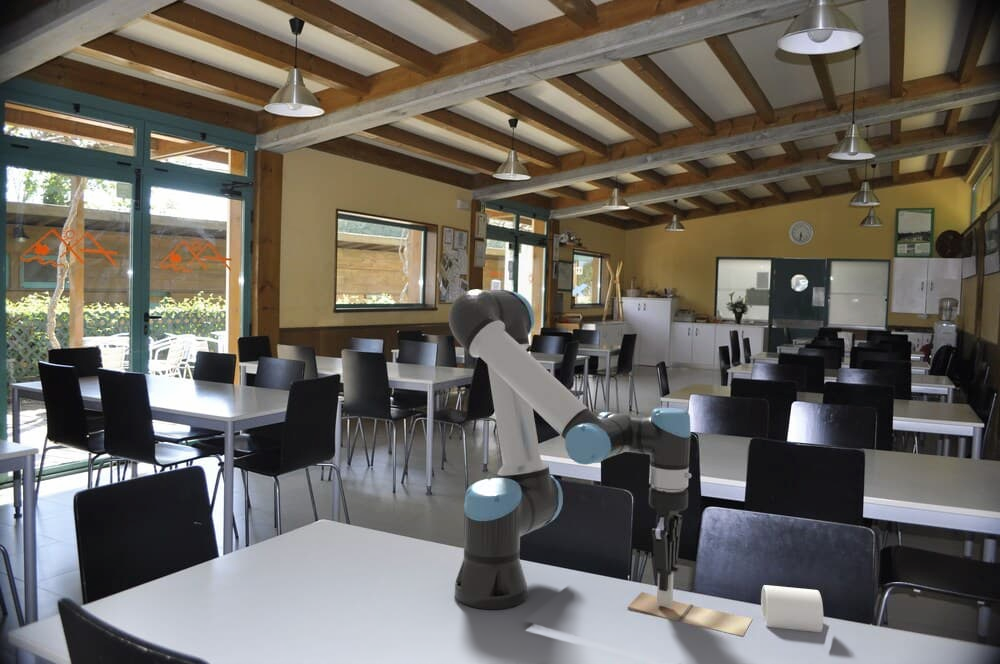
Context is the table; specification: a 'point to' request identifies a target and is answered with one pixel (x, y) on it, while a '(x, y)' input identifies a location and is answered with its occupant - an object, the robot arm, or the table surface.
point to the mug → (792, 608)
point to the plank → (657, 607)
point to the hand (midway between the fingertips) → (664, 604)
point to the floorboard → (715, 620)
